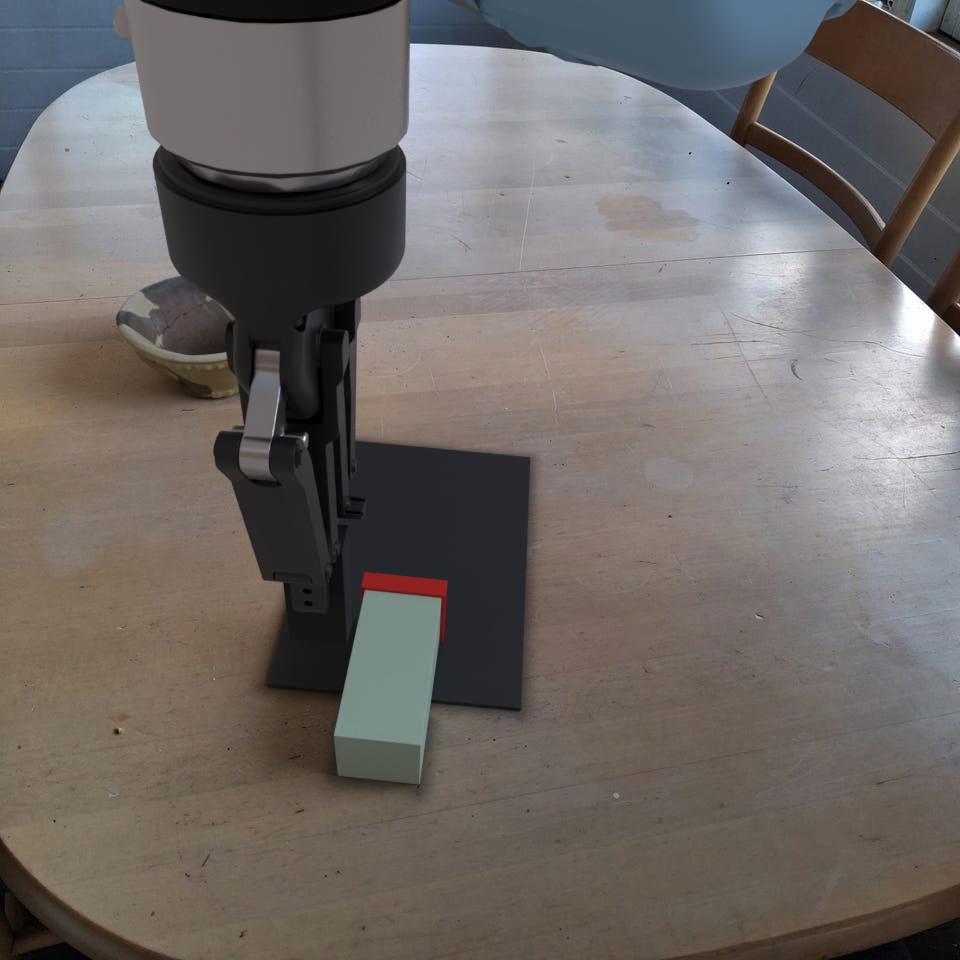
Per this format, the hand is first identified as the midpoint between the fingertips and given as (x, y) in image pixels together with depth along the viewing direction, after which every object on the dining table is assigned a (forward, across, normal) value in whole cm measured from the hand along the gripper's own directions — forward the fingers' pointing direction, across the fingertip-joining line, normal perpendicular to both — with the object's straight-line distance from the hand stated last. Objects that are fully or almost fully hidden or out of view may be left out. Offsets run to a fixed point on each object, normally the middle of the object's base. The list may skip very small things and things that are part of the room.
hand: (321, 628), depth 43 cm
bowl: (+27, -52, -23) cm, 63 cm away
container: (+23, -7, +2) cm, 24 cm away
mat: (+26, -29, +2) cm, 39 cm away
